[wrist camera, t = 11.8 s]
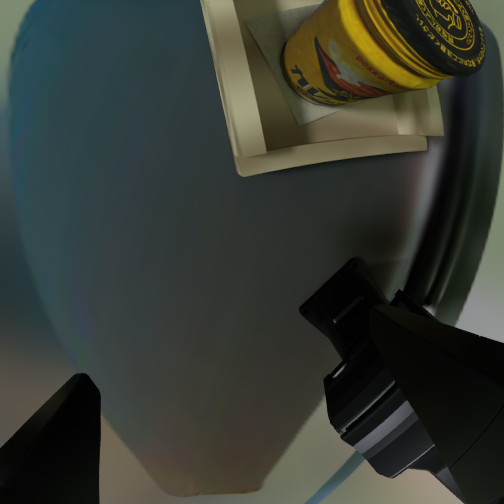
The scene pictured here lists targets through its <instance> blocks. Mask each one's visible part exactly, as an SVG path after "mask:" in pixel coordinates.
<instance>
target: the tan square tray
mask: <svg viewBox="0 0 504 504" xmlns="http://www.w3.org/2000/svg"><path fill="white" fill-rule="evenodd" d="M200 1H201V5H202V10H203V15H204V19H205V24H206V29H207V33H208V38H209V43H210V47H211V52H212V57H213V61H214V66H215V71H216V75H217V80H218V85H219V90H220V94H221V99H222V104H223V108H224V113H225V118H226V123H227V127H228V132H229V137H230V141H231V146H232V151H233V156H234V160H235V165H236V170H237V173H238V174H239V175H241V176H242V177H246V176H250V175H255V174H260V173H265V172H270V171H275V170H280V169H285V168H291V167H297V166H302V165H308V164H314V163H320V162H327V161H333V160H340V159H347V158H355V157H363V156H371V155H380V154H389V153H399V152H410V151H423V150H427V141H426V136H444V130H443V122H442V114H441V108H440V102H439V96H438V91H437V86H436V85H435V86H433V87H431V88H428V89H422V90H417V91H409V92H403V93H397V94H392V95H386V96H382V97H380V98H376V99H373V100H370V101H367V102H364V103H361V104H358V105H355V106H352V107H349V108H346V109H343V110H340V111H338V112H335V113H332V114H329V115H327V116H324V117H321V118H319V119H316V120H314V121H311V122H309V123H306V124H304V125H301V126H299V124H298V122H297V120H296V118H295V116H294V114H293V112H292V110H291V107H290V105H289V104H288V102H287V100H286V98H285V95H284V93H283V91H282V89H281V87H280V85H279V83H278V81H277V80H276V78H275V76H274V74H273V72H272V70H271V68H270V66H269V64H268V62H267V60H266V58H265V56H264V54H263V52H262V51H261V49H260V47H259V45H258V43H257V41H256V40H255V39H254V37H253V35H252V33H251V31H250V30H249V28H248V27H247V25H246V23H245V22H244V21H246V20H249V19H252V18H256V17H261V16H264V15H268V14H271V13H276V12H281V11H286V10H290V9H295V8H300V7H305V6H310V5H316V4H321V3H322V2H323V1H324V0H200ZM286 35H287V34H286ZM284 41H286V40H284Z"/></svg>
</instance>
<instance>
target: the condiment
mask: <svg viewBox="0 0 504 504" xmlns="http://www.w3.org/2000/svg"><path fill="white" fill-rule="evenodd" d="M244 22H245V23H246V25H247V27H248V28H249V30H250V31H251V33H252V35H253V37H254V39H255V40H256V41H257V43H258V45H259V47H260V49H261V51H262V52H263V54H264V56H265V58H266V60H267V62H268V64H269V66H270V68H271V70H272V72H273V74H274V76H275V78H276V80H277V81H278V83H279V85H280V87H281V89H282V91H283V93H284V95H285V98H286V100H287V102H288V104H289V105H290V107H291V110H292V112H293V114H294V116H295V118H296V120H297V122H298V124H299V126H301V125H304V124H306V123H309V122H311V121H314V120H316V119H319V118H321V117H324V116H327V115H329V114H332V113H335V112H338V111H340V110H343V109H346V108H349V107H352V106H355V105H358V104H361V103H364V102H367V101H370V100H373V99H376V98H380V97H382V96H386V95H392V94H397V93H403V92H409V91H417V90H422V89H428V88H431V87H433V86H435V85H436V84H438V83H439V82H440V81H441V80H443V79H448V78H451V77H453V76H458V77H463V76H470V75H471V74H474V73H476V72H477V71H478V70H479V69H480V68H481V66H482V65H483V63H484V60H485V53H486V49H485V38H484V33H483V31H482V27H481V25H480V22H479V19H478V17H477V15H476V13H475V10H474V9H473V7H472V5H471V4H470V2H469V1H468V0H324V1H323V2H322V3H321V4H316V5H310V6H305V7H300V8H295V9H290V10H286V11H281V12H276V13H271V14H268V15H264V16H261V17H256V18H252V19H249V20H246V21H244ZM286 34H287V35H286ZM284 40H286V41H284Z"/></svg>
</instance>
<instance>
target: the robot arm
mask: <svg viewBox="0 0 504 504" xmlns="http://www.w3.org/2000/svg"><path fill="white" fill-rule="evenodd" d="M354 263H355V265H354V266H353V267H352V265H353V264H354ZM305 309H307V310H306V311H304V310H305ZM299 312H300V314H301V315H302V316H303V317H304V318H305V319H307V320H308V321H309V322H310V323H311V324H312V325H314V326H315V327H316V328H317V329H318V330H319V331H321V332H322V333H323V334H324V335H325V336H327V337H328V338H329V339H330V341H331V343H332V344H333V346H334V347H335V349H336V351H337V352H338V354H339V356H340V357H341V359H342V360H343V361H342V362H341V363H340V364H339V365H338V366H337V367H336V368H335V369H334V370H333V371H332V372H331V373H330V374H328V375H327V376H326V377H325V378H324V379H323V381H324V388H325V396H326V403H327V413H328V417H329V420H330V423H331V425H332V426H333V427H334V429H335V430H336V431H337V432H338V433H339V434H340V435H341V436H340V437H341V439H342V440H343V441H345V442H346V443H348V444H349V445H351V446H353V447H354V448H355V449H356V450H357V451H358V452H359V453H361V454H362V455H363V456H364V458H365V459H366V460H367V461H368V462H369V463H370V465H371V466H372V467H373V468H374V469H375V471H376V472H377V473H378V474H380V475H383V476H386V477H389V478H395V477H396V476H398V475H399V474H401V473H402V472H403V471H405V470H406V469H417V470H426V471H429V472H430V473H431V474H432V475H434V476H435V477H436V478H437V479H438V480H439V481H440V482H441V483H442V484H443V485H444V486H445V487H446V488H448V489H449V490H450V491H451V492H452V493H453V494H454V495H455V496H456V497H457V498H459V499H460V500H461V501H462V502H463V503H464V504H504V343H502V342H498V341H495V340H492V339H489V338H486V337H483V336H479V335H477V334H474V333H471V332H468V331H465V330H462V329H458V328H456V327H453V326H450V325H447V324H443V323H441V322H440V321H439V320H437V319H436V318H435V317H434V316H433V315H432V314H431V313H429V312H428V311H427V310H426V309H425V308H423V307H422V306H421V305H419V304H418V303H417V302H416V301H414V300H413V299H412V298H411V297H409V296H408V295H407V294H405V293H404V292H403V291H401V290H400V289H399V290H398V291H397V292H396V294H395V297H394V299H393V300H392V301H391V302H390V301H389V300H388V299H387V298H386V297H385V295H384V294H383V293H382V291H381V290H380V289H379V287H378V286H377V285H376V283H375V282H374V281H373V279H372V278H371V277H370V275H369V274H368V273H367V271H366V270H365V269H364V267H363V266H362V265H361V263H360V262H359V261H358V260H356V259H355V258H352V259H350V260H349V261H348V262H347V263H346V264H345V265H344V266H343V267H342V268H341V269H340V270H339V271H338V272H337V273H335V274H334V275H333V276H332V277H331V278H330V279H329V280H328V281H327V282H326V283H325V284H324V285H323V286H322V287H321V288H320V289H318V290H317V291H316V292H315V293H314V294H313V295H312V296H311V297H310V298H309V299H308V300H307V301H306V302H305V303H304V304H302V305H301V306H300V308H299ZM100 441H101V395H100V391H99V389H98V388H97V387H96V385H95V384H94V383H93V381H92V380H91V378H90V377H89V376H88V375H87V374H86V373H78V374H74V375H73V376H72V377H71V378H70V379H69V380H68V381H67V382H66V383H65V384H64V385H63V386H62V387H61V388H60V389H59V390H58V391H57V392H56V393H55V394H54V395H53V396H52V397H51V398H50V399H49V400H48V401H46V402H45V404H43V405H42V406H41V407H40V408H39V410H37V411H36V412H35V413H34V414H33V415H32V416H31V417H30V418H29V419H28V420H27V422H25V423H24V424H23V425H22V427H21V428H20V429H19V430H18V431H17V432H16V433H15V434H14V435H13V437H11V438H10V439H9V440H8V441H7V442H6V443H5V444H4V445H3V446H2V447H1V448H0V504H100V503H99V462H100Z"/></svg>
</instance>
